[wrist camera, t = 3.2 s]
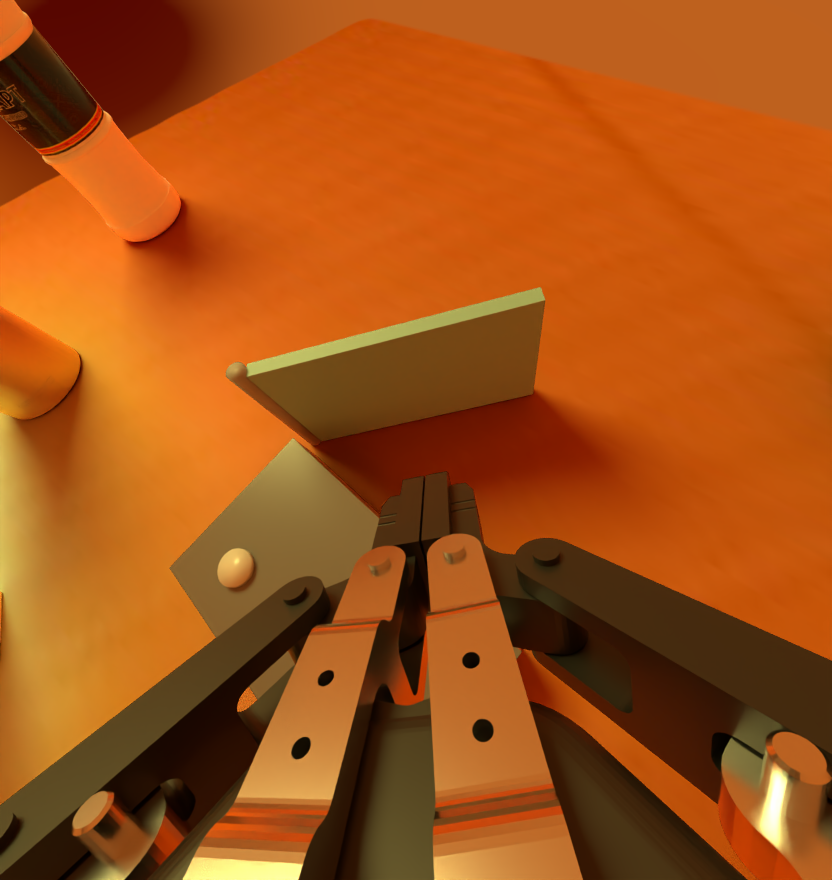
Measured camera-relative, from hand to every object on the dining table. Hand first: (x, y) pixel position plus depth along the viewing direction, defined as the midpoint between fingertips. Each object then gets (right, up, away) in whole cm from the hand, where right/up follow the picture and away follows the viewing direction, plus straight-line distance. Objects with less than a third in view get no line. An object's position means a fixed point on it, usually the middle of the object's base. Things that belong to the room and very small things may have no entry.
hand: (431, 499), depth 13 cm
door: (-1, +4, +18) cm, 18 cm away
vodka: (-35, +31, +37) cm, 59 cm away
